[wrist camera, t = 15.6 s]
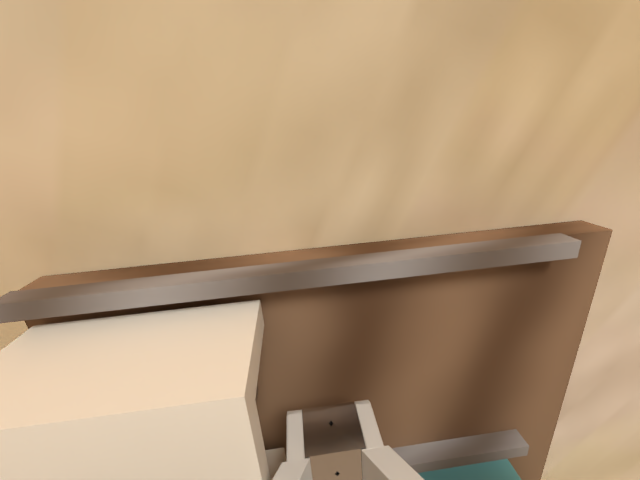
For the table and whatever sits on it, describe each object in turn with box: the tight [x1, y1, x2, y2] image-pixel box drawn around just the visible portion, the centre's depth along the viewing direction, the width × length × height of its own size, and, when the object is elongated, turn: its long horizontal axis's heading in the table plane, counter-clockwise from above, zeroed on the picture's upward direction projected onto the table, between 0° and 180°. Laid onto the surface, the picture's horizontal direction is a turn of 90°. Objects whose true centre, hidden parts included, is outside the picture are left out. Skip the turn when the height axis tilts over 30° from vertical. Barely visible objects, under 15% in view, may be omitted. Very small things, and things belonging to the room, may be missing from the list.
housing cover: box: [0, 300, 286, 480], centre depth 9 cm, size 7×8×4 cm
